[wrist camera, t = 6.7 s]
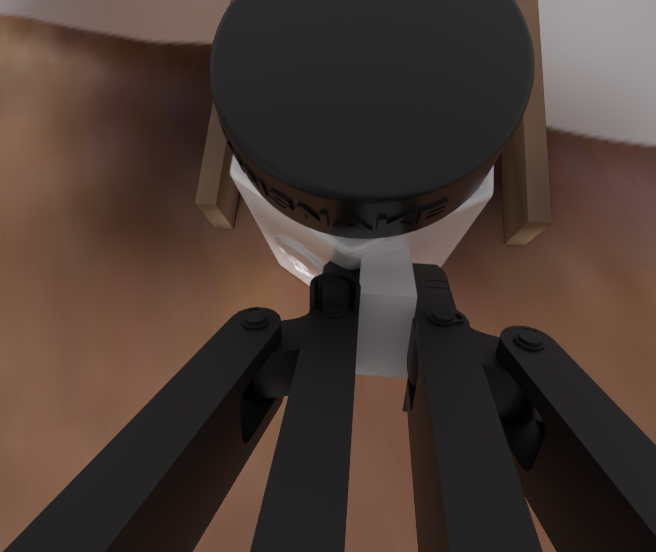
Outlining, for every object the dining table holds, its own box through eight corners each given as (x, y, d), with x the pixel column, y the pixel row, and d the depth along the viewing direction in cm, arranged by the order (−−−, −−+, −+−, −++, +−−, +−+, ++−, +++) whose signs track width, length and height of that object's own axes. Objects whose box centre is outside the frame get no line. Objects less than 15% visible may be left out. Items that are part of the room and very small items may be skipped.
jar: (243, 244, 22) (125, 80, 11) (336, 132, 24) (322, -119, 12) (385, 346, 20) (430, 284, 9) (475, 218, 22) (616, 20, 10)
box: (214, 227, 22) (194, 203, 20) (246, 30, 26) (234, -16, 23) (524, 245, 21) (552, 222, 18) (515, 36, 25) (537, -12, 22)
